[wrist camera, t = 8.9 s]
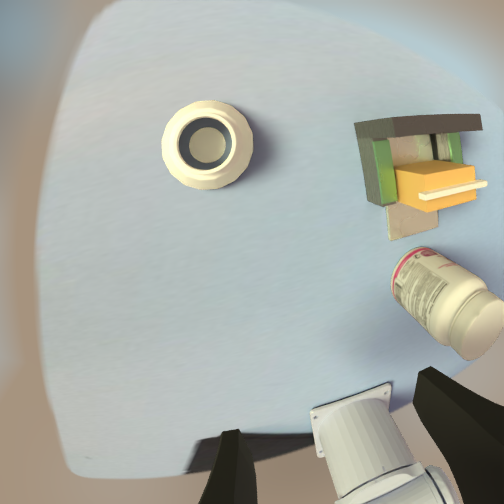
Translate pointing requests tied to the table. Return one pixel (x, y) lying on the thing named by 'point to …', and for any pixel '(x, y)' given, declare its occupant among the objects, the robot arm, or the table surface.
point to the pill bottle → (448, 302)
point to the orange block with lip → (436, 184)
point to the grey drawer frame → (408, 160)
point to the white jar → (208, 145)
